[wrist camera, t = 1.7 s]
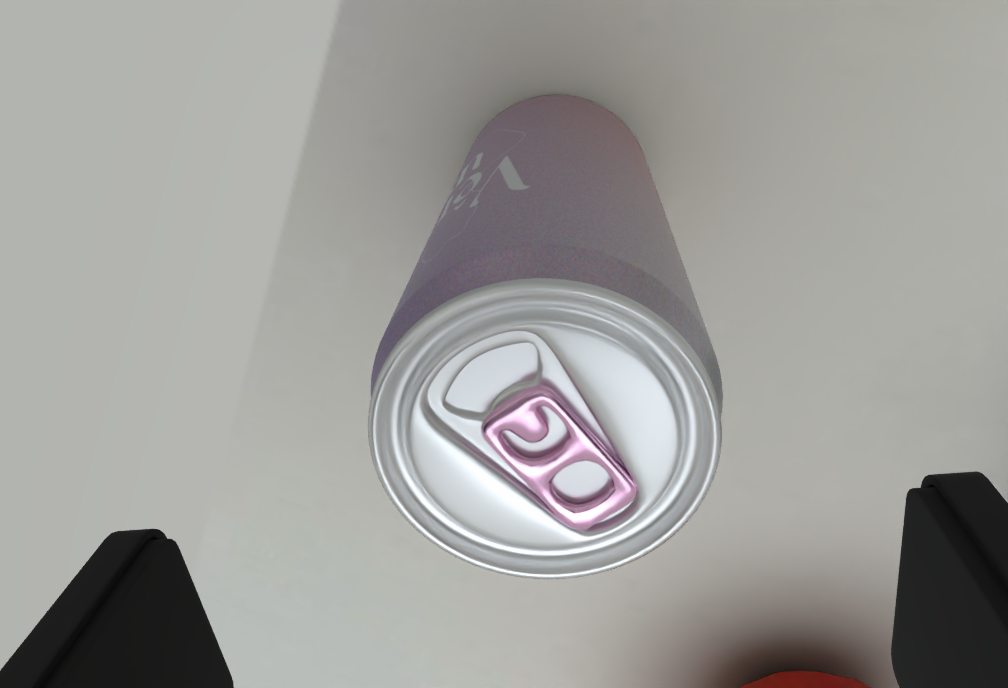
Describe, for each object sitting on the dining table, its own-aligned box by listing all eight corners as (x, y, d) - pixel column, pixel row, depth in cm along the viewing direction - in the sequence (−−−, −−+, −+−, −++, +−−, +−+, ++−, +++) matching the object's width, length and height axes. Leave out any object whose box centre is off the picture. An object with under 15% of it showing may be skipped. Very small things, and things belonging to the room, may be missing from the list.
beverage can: (540, 301, 28) (514, 638, 14) (427, 170, 26) (277, 416, 12) (683, 200, 26) (809, 480, 12) (572, 49, 24) (578, 187, 10)
